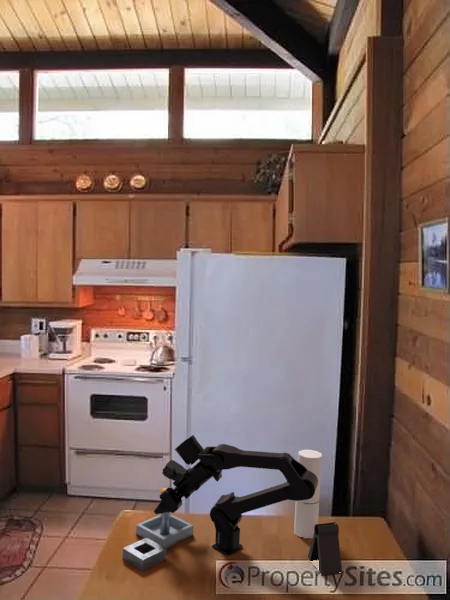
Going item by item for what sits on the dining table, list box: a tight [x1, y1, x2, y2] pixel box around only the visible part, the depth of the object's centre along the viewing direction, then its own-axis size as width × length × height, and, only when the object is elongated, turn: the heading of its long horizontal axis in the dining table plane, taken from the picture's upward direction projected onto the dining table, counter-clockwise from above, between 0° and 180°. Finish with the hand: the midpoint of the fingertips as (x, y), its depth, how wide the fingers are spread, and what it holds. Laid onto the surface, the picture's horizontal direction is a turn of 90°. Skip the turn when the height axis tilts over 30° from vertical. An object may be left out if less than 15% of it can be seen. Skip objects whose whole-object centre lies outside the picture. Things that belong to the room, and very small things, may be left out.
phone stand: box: [307, 521, 343, 577], centre depth 155 cm, size 9×6×12 cm, turn 17°
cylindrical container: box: [293, 449, 323, 539], centre depth 172 cm, size 7×7×25 cm
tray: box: [135, 514, 194, 549], centre depth 168 cm, size 12×12×3 cm
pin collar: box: [122, 538, 167, 571], centre depth 155 cm, size 8×8×3 cm
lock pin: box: [159, 487, 172, 535], centre depth 168 cm, size 3×3×13 cm
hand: (161, 506), depth 168 cm, fingers open, 9 cm apart
